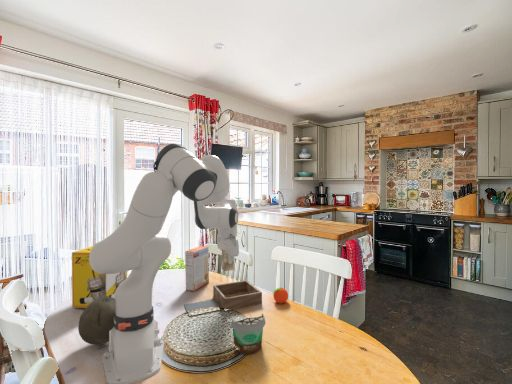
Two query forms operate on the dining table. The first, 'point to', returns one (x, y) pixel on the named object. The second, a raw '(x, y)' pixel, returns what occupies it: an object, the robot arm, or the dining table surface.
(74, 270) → the packaging box
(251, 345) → the food container
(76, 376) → the dining table surface
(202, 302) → the slate mat
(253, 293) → the box frame
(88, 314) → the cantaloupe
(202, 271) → the cracker box
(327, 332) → the dining table surface
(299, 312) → the dining table surface
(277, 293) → the tomato
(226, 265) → the beech block
